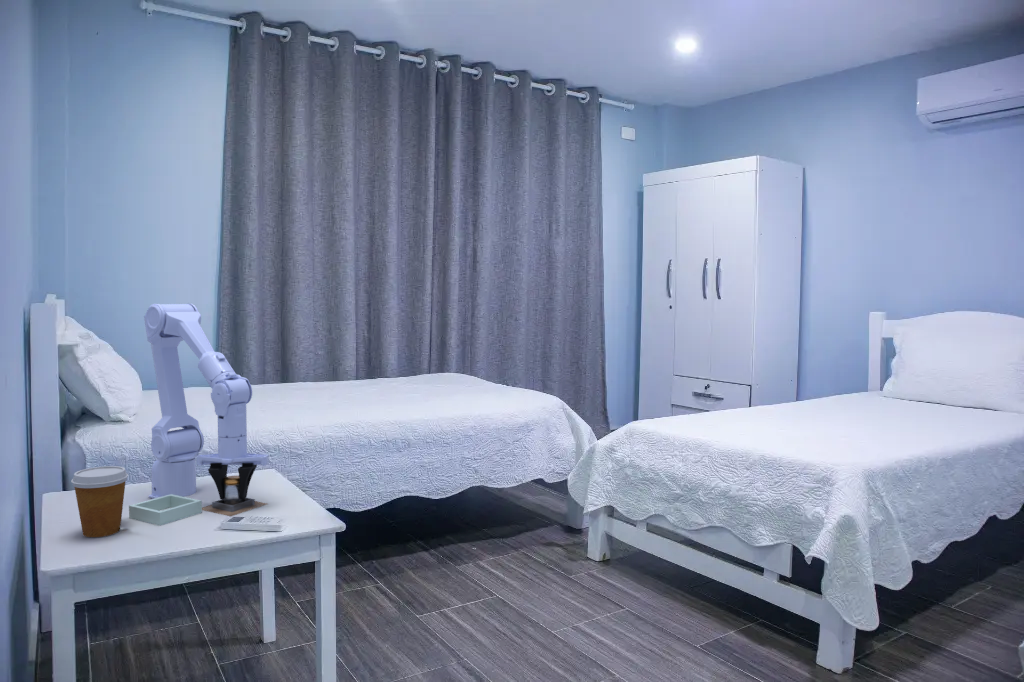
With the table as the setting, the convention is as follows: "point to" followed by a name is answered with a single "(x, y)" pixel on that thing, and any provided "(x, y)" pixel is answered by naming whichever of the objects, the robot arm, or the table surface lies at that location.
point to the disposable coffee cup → (100, 499)
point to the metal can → (232, 490)
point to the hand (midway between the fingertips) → (233, 498)
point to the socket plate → (233, 507)
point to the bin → (178, 510)
